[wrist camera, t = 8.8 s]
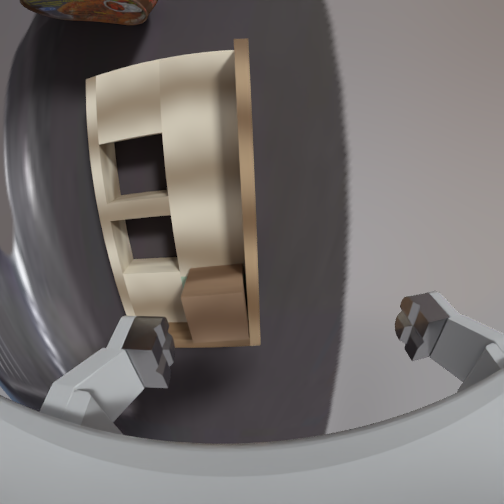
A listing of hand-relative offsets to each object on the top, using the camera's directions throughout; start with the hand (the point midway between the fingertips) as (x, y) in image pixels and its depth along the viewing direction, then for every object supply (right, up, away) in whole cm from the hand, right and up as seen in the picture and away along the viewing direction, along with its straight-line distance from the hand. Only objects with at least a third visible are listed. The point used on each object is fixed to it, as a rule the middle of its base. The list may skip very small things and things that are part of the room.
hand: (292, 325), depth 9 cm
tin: (-16, +26, +6) cm, 31 cm away
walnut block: (-4, -1, +15) cm, 15 cm away
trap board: (-8, +7, +14) cm, 18 cm away
